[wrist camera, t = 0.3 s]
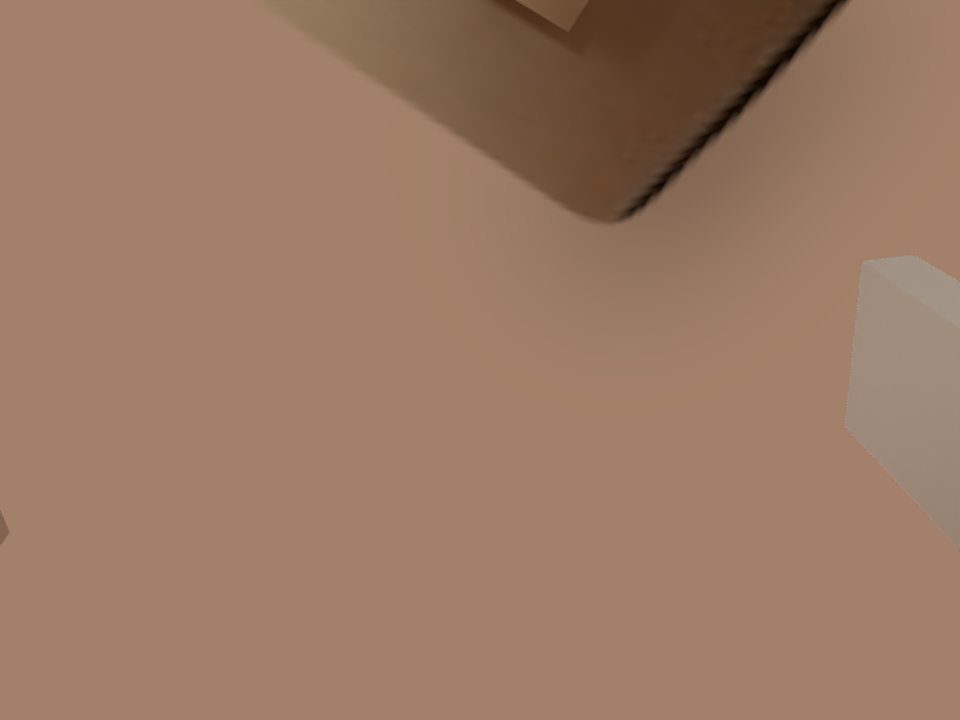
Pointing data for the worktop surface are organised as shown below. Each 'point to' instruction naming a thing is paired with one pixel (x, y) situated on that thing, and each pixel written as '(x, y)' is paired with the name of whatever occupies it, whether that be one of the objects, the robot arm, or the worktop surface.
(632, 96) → the worktop surface
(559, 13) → the hub base
